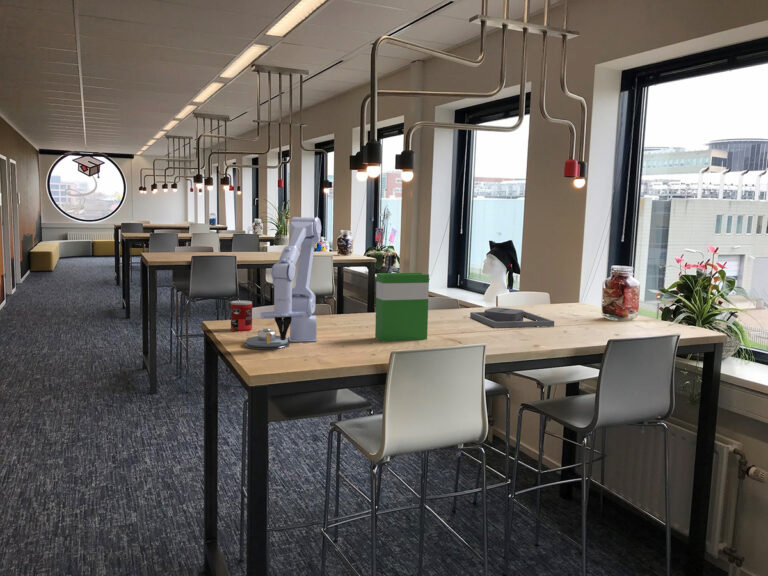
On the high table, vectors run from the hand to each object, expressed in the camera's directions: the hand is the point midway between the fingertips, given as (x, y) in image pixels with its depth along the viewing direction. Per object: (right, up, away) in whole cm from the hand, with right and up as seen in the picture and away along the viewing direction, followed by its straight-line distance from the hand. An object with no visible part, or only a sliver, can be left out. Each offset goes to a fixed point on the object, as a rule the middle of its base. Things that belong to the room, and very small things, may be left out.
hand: (282, 339), depth 208 cm
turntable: (-6, -2, +5) cm, 8 cm away
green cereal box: (+40, -2, +22) cm, 46 cm away
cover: (-6, 0, +5) cm, 8 cm away
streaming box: (+86, +2, +66) cm, 109 cm away
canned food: (-21, +1, +32) cm, 38 cm away
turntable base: (-6, -2, +5) cm, 8 cm away
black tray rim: (+89, +2, +65) cm, 110 cm away
